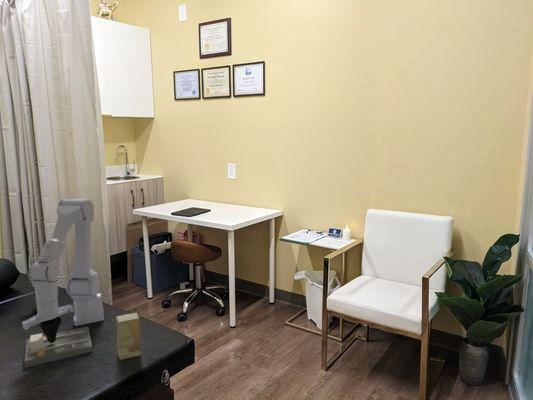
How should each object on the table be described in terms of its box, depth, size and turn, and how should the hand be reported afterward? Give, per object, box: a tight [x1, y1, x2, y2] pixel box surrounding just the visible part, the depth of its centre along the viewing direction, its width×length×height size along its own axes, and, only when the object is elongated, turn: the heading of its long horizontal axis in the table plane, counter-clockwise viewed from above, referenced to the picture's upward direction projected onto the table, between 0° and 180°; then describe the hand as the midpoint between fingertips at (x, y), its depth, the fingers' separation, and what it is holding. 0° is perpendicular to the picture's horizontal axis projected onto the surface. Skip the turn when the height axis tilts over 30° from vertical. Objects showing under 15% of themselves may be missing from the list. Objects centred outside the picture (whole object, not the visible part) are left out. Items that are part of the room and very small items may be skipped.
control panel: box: [24, 325, 93, 369], centre depth 128 cm, size 18×14×3 cm
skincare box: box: [115, 312, 142, 361], centre depth 124 cm, size 6×4×12 cm
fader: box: [29, 332, 44, 351], centre depth 125 cm, size 3×4×3 cm
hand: (51, 341), depth 127 cm, fingers closed
